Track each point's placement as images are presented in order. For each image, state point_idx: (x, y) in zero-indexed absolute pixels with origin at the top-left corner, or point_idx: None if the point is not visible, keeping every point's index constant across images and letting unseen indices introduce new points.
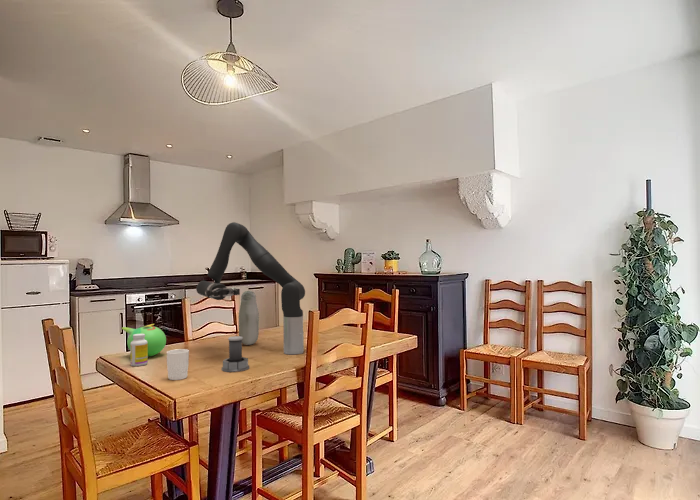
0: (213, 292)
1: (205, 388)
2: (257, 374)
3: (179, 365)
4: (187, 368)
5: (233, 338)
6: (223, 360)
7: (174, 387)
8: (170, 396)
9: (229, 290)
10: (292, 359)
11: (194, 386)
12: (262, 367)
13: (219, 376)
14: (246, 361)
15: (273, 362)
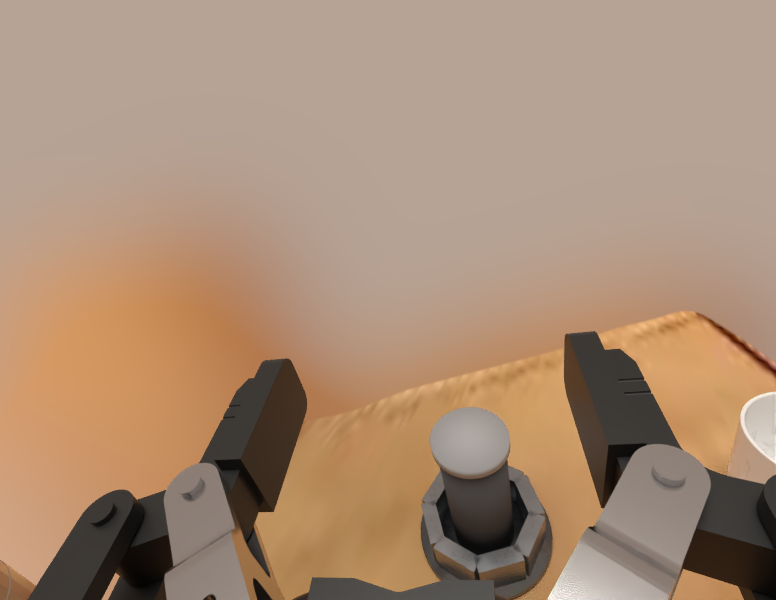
0: (648, 392)
1: None
2: (437, 413)
3: (766, 435)
4: (727, 472)
5: (485, 419)
6: (540, 525)
7: (738, 396)
8: (721, 331)
9: (255, 573)
10: None
11: (659, 381)
12: (381, 488)
13: (569, 448)
14: (441, 474)
15: (300, 544)
